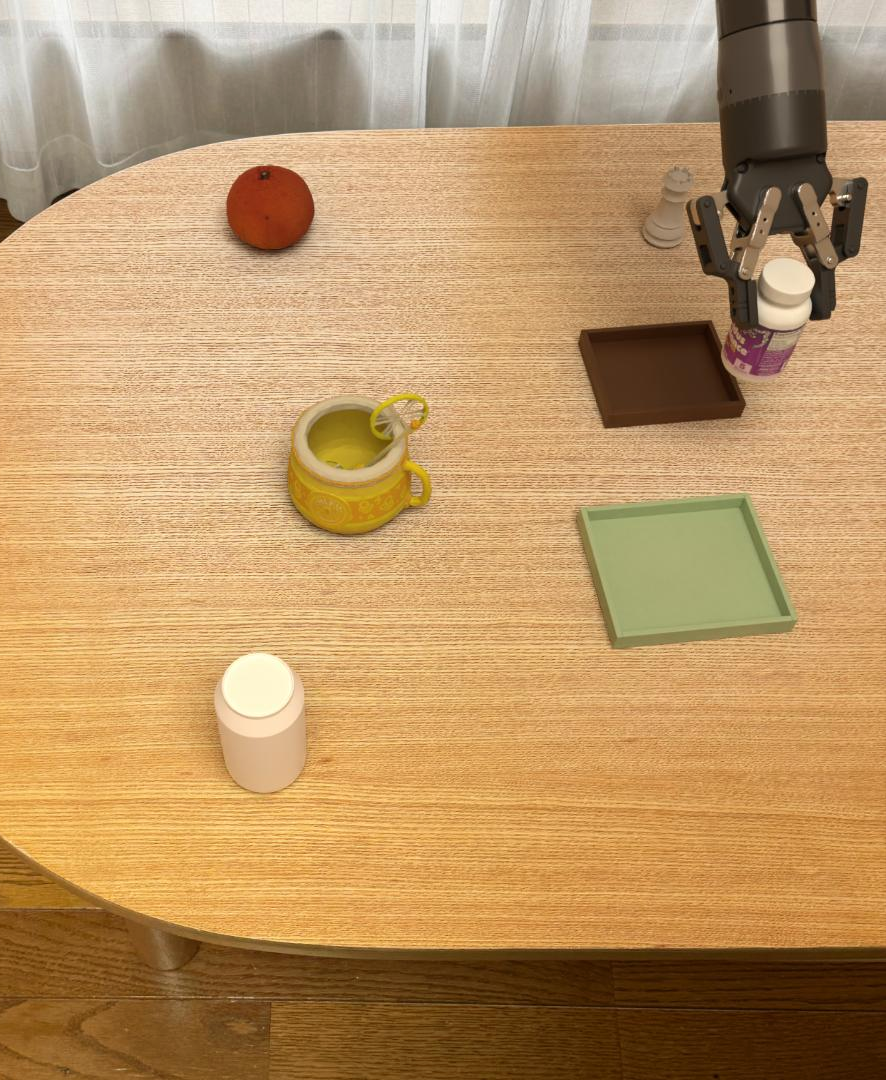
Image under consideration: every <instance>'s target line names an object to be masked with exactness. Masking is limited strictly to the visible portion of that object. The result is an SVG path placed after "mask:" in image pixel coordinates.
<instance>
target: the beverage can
mask: <svg viewBox="0 0 886 1080" xmlns="http://www.w3.org/2000/svg"><path fill="white" fill-rule="evenodd" d="M213 693H214V694H213V705H214V710H215V711H214V712H215V717H216V722H217V727H218V734H219V739H220V744H221V750H222V755H223V760H224V764H225V767H226V770H227V772H228V774H229V776H230V777H231V778H232V780H233V781H234V782H235V783H236V784H237V785H239V786H240V787H242V788H243V789H245V790H247V791H250V792H254V793H260V794H261V793H262V794H268V793H269V794H270V793H274V792H275V793H276V792H278V791H281V790H283V789H285V788H287V787H288V786H290V785H291V784H293V783H294V782H295V781H296V780H297V779H298V778H299V776H300V775H301V773H302V771H303V770H304V767H305V765H306V761H307V751H308V749H307V748H308V747H307V746H308V745H307V722H306V721H307V720H306V719H307V718H306V698H305V697H306V696H305V695H306V694H305V688H304V683H303V681H302V679H301V677H300V676H299V674H298V673H297V672H296V671H295V669H293V668H292V666H290V665H289V664H287V663H286V662H285V661H284V660H283V659H282V658H280V657H278V656H277V655H275V654H271V653H268V652H251V653H247V654H245V655H242V656H240V657H238V658H237V659H235V660H234V661H233V662H232V663H231V664H230V665H229V666H228V667H227V668H226V670H225V671H224V672H223V673H222V675H221V676H220V677H219V679H218V680H217V683H216V686H215V688H214V692H213Z"/></svg>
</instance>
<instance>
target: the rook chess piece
mask: <svg viewBox="0 0 886 1080" xmlns="http://www.w3.org/2000/svg"><path fill="white" fill-rule="evenodd" d="M680 167H681V165H674V167H670V168H669V169H667V172H666V173H664V175H662V177H661V182H662V184H663V187H662V188H661V190H660V194H661V197H660V200H659V202H658V204H657V206H656V208H655V209H654V210H653V211H652V212H651V213H650V214H649V215H648V216H647V217H646V218H645V220H644V221H645V222H644V225H643V226H642V231H641V232H642V234H643V238H644V239H645V240H646V241H647V242H648V243H649V244H650V245H651V246H653V247H655V248H660V249H672V248H674V247H677V246H678V245H680V244H681V243H682V242H683V241H684V240H685V235H686V230H687V223H686V221H685V220H686V219H685V216H684V208H685V202H686V201H687V200H688V198H689V195H690V193H689V191H691V190H692V189H693V188H694V187H695V184H696V182H695V180H694V173H693V170H690V171H689V169H690V168H689V167H687V166H685V165H684V166H683V167H682V169H680Z"/></svg>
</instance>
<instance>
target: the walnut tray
mask: <svg viewBox="0 0 886 1080" xmlns="http://www.w3.org/2000/svg"><path fill="white" fill-rule="evenodd" d="M577 345H578V348H579V351H580V354H581V357H582V360H583V364H584V367H585V370H586V374H587V377H588V379H589V382H590V383H589V384H590V386H591V389H592V392H593V395H594V399H595V402H596V405H597V408H598V411H599V414H600V417H601V418H600V419H601V420H602V424H603V427H604V429H613V428H614V429H615V428H617V429H618V428H628V427H638V426H639V427H640V426H651V425H664V424H665V425H666V424H677V423H687V422H700V421H701V422H702V421H713V420H714V421H715V420H724V419H725V420H726V419H735V418H736V419H737V418H741V417H742V415H743V412H744V410H745V408H746V406H747V401H746V400H745V397H744V395H743V392H742V389H741V388H740V384H739V383H738V380H737V377H735V376H733V375H732V374H731V373H730V372H729V371H728V370H727V369H726V368H725V366H724V364H723V362H722V357H721V352H722V347H723V344H722V342H721V339H720V337H719V333H718V332H717V329H716V326H715V324H714V322H713V320H712V319H707V320H705V319H704V320H693V321H692V320H691V321H677V322H665V323H653V324H651V323H650V324H639V325H638V324H637V325H625V326H613V327H612V326H611V327H599V328H587V329H585V328H584V329H581V330H580V333H579V339H578V341H577Z"/></svg>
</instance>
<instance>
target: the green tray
mask: <svg viewBox="0 0 886 1080" xmlns="http://www.w3.org/2000/svg"><path fill="white" fill-rule="evenodd" d="M576 524H577V527H578V531H579V534H580V538H581V542H582V546H583V548H584V552H585V556H586V560H587V562H588V566H589V570H590V573H591V577H592V581H593V584H594V588H595V591H596V595H597V598H598V602H599V606H600V609H601V612H602V615H603V616H602V617H603V620H604V623H605V626H606V630H607V634H608V638H609V641H610V644H611V648H612V650H617V649H627V648H638V647H648V646H657V645H669V644H678V643H688V642H700V641H709V640H719V639H729V638H730V639H731V638H740V637H750V636H761V635H768V634H769V635H770V634H771V635H772V634H780V633H791V632H792V631H793V629H794V628H795V626H796V625H797V623H798V621H799V617H798V615H797V612H796V609H795V607H794V605H793V601H792V600H791V597H790V594H789V592H788V589H787V587H786V585H785V581H784V579H783V577H782V574H781V571H780V569H779V567H778V564H777V561H776V558H775V556H774V554H773V551H772V548H771V546H770V543H769V541H768V539H767V536H766V534H765V530H764V528H763V526H762V523H761V520H760V517H759V515H758V513H757V510H756V508H755V505H754V503H753V501H752V498H751V495H750V493H749V492H742V493H730V494H719V495H705V496H696V497H695V496H694V497H684V498H683V497H682V498H674V499H673V498H671V499H662V500H661V499H660V500H653V501H652V500H649V501H639V502H626V503H617V504H616V503H615V504H605V505H603V504H602V505H594V506H592V505H590V506H582V507H581V506H580V507H579V509H578V513H577V517H576Z"/></svg>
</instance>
